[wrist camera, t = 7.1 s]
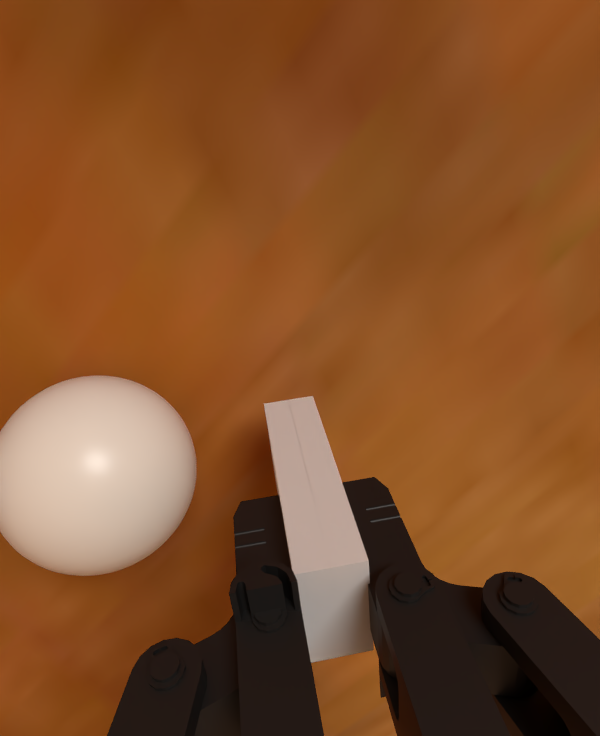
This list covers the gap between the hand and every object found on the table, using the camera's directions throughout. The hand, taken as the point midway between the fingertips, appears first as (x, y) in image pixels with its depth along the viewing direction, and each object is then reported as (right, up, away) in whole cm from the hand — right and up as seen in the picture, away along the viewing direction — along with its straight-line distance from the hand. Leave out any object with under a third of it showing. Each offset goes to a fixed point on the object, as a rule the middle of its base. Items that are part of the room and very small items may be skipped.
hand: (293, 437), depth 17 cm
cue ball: (-5, -1, -1) cm, 6 cm away
